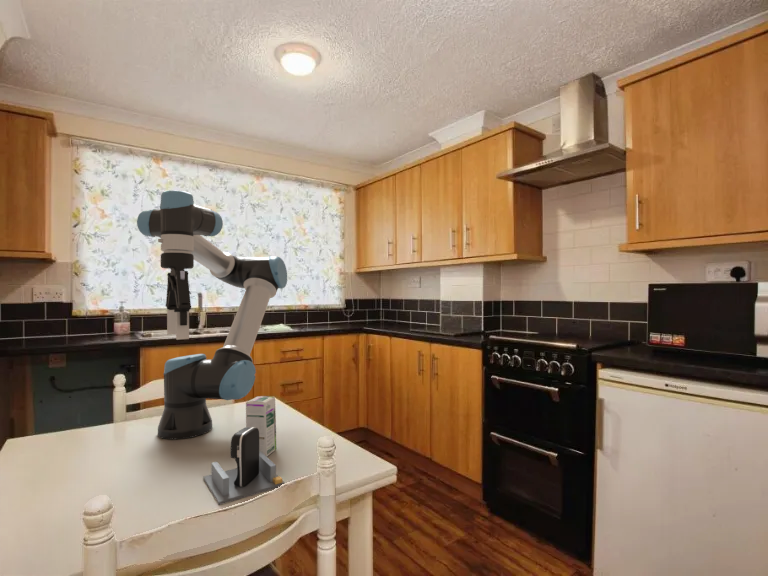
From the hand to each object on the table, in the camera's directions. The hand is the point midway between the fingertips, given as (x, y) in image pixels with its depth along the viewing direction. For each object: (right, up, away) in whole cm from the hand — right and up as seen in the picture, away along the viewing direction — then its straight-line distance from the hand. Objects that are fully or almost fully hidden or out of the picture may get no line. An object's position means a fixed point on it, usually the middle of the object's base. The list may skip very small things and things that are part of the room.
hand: (177, 336), depth 105 cm
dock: (+21, -32, -11) cm, 39 cm away
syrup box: (+20, -32, +5) cm, 38 cm away
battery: (+21, -31, -12) cm, 39 cm away
